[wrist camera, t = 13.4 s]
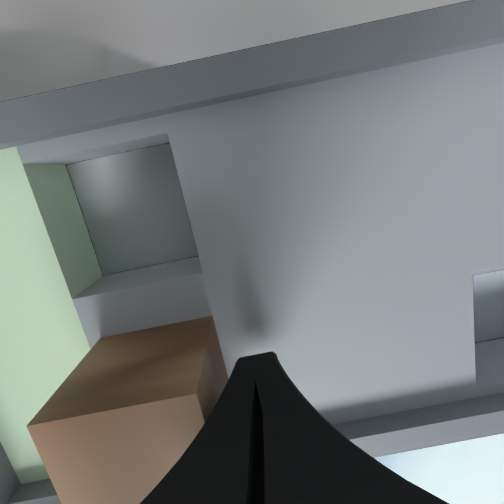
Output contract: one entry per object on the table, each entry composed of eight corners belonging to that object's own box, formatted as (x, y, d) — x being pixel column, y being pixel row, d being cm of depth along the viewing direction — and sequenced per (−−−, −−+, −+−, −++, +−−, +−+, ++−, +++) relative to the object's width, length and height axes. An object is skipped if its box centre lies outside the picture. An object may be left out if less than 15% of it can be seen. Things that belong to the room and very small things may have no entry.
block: (212, 315, 11) (196, 393, 7) (236, 411, 12) (233, 524, 8) (100, 337, 11) (26, 426, 7) (133, 431, 12) (83, 551, 8)
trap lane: (586, 8, 11) (797, -90, 7) (568, 353, 15) (703, 430, 11) (-93, 153, 12) (-285, 145, 8) (43, 454, 16) (-35, 566, 11)
